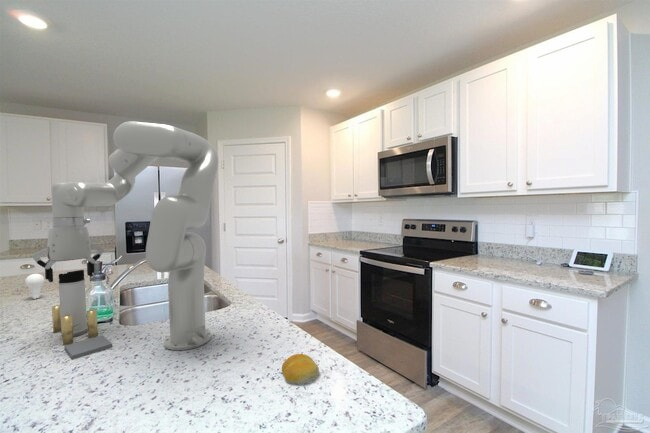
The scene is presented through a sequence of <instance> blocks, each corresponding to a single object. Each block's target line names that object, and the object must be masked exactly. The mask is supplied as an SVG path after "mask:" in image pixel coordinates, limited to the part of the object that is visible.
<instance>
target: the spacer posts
mask: <svg viewBox="0 0 650 433" xmlns="http://www.w3.org/2000/svg"><path fill="white" fill-rule="evenodd" d="M51 314H52V315H51V316H52V333H54V334H55V333H61V340H62V346H66V345H69V344H73V343H74V337H73V326H72V315H65V316H62V317H61V314H60V304H58V305H54V306H52V307H51ZM86 315H87V338H88V339H91V338H94V337H98V336H99V329H98V310H97V309H95V308H94V309H89V310H86ZM61 323H62V331H61Z"/></svg>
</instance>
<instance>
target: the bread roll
mask: <svg viewBox="0 0 650 433" xmlns="http://www.w3.org/2000/svg"><path fill="white" fill-rule="evenodd" d="M281 365H282V366H281V372H282V375H283V377H284V378H283V379H284V380H285V381H286V382H287V383H288V384H293V385H307V384H309V383H312V382H313V381H314V380H315V379H317V377H318V375H319V366H318V364H316V362H315V360H314V359H313V358H312V357H311V356H309V355H308V354H305V353H304V354H303V353H296V354H293V355H291V356H289V357H287V359H285V360H284V361H283V363H282V364H281Z"/></svg>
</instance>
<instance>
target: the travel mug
mask: <svg viewBox="0 0 650 433" xmlns="http://www.w3.org/2000/svg"><path fill="white" fill-rule="evenodd" d="M84 270H85V269H78V270H72V271H67V272H66V273H65V272H64V273H59V274H58V293H59V305H60V314H61V317H62V316H65V315H72V326H73V338H75V337H79V336H82V335H84V334H86V333H88V324H87V301H86V300H87V299H86V283H85V280H86V279H85V271H84ZM61 332H62V323H61Z"/></svg>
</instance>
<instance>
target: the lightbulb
mask: <svg viewBox="0 0 650 433" xmlns="http://www.w3.org/2000/svg"><path fill="white" fill-rule="evenodd" d="M24 283H25V285H26V287H27V288H28V290H29V292H30V294H31V298H32V299H33V300H36V299H35V298H38V299H39V298H41V290H42V287H43V285H44V283H45V277H44V276H43V274H41V273H32V274H29V275H28V276H27V277H25V280H24Z"/></svg>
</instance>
